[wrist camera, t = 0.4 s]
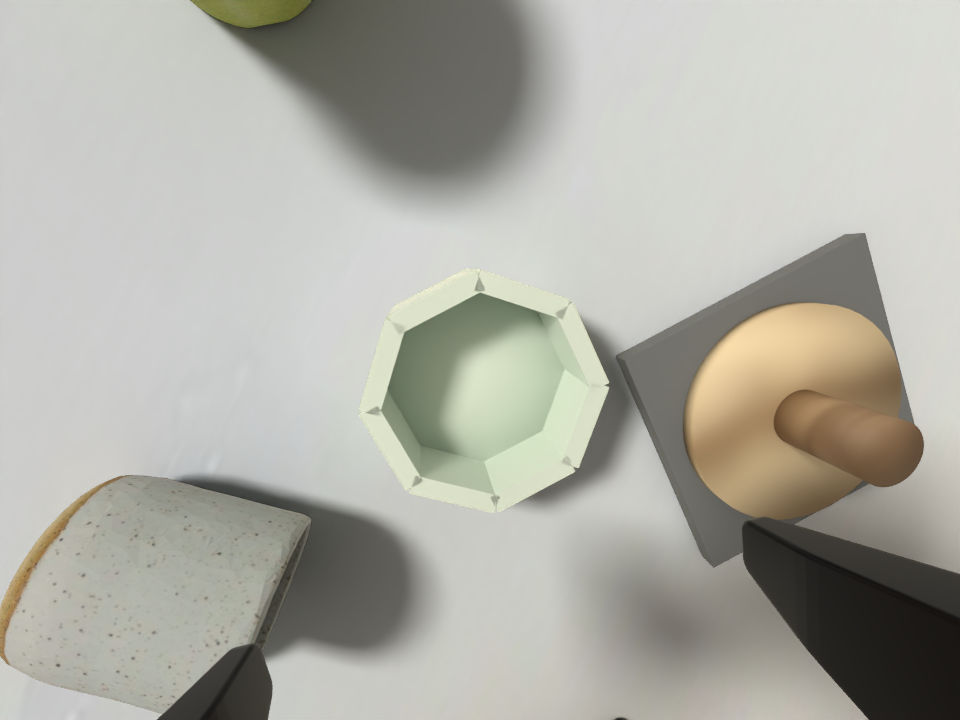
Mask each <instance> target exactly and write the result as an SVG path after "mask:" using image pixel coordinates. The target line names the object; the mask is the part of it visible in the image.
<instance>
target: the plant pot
mask: <svg viewBox="0 0 960 720" xmlns="http://www.w3.org/2000/svg"><path fill="white" fill-rule="evenodd" d="M190 1H192V2H193V3H194V4H195V5H196V6H198V7H199V8H200V9H202V10H203V11H205V12H206V13H208V14H210V15H211V16H213V17H215V18H217V19H219V20H222V21H224V22H226V23H229V24H232V25H235V26H239V27H245V28H252V27H257V26H262V25H267V24H273V23H278V22H283V21H288V20H290V19H292V18H294V17H295V16H297V15H298V14H300V13H301V12H302V11H303V10H304V9H305V8H306V7H307V6H308V5H309V4H310V3H311V1H312V0H190Z"/></svg>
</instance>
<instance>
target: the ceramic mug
mask: <svg viewBox="0 0 960 720" xmlns="http://www.w3.org/2000/svg"><path fill="white" fill-rule="evenodd" d="M310 527H311V518H309V517H308V516H306V515H304V514H301V513H297V512H293V511H288V510H284V509H280V508H276V507H272V506H269V505H265V504H261V503H257V502H253V501H249V500H246V499H242V498H238V497H235V496H231V495H227V494H223V493H218V492H214V491H210V490H206V489H203V488H199V487H196V486H192V485H189V484H186V483H182V482H178V481H175V480H171V479H167V478H158V477H150V476H137V475H126V476H120V477H116V478H114V479H111V480H109V481H106V482H104V483H102V484H100V485H98V486H96V487H95V488H93V489H91V490H90V491H88V492H87V493H85V494H84V495H82V496H81V497H80V498H78V499H77V500H76V501H75V502H74V503H72V504H71V505H70V506H69V507H68V508H66V509H65V510H64V511H63V512H62V513H61V515H60V516H59V517H58V518H57V519H56V520H55V521H54V522H53V523H52V524H51V525H50V526H49V527H48V528H47V529H46V531H45V532H44V533H43V534H42V536H41V537H40V538H39V539H38V541H37V542H36V543H35V545H34V546H33V548H32V549H31V551H30V552H29V554H28V555H27V557H26V558H25V559H24V561H23V562H22V564H21V565H20V567H19V569H18V571H17V573H16V574H15V576H14V578H13V580H12V581H11V583H10V585H9V588H8V590H7V592H6V595H5V597H4V599H3V602H2V604H1V607H0V656H1V658H2V659H3V660H4V661H5V662H6V663H7V664H8V665H10V666H12V667H13V668H15V669H17V670H19V671H21V672H23V673H25V674H26V675H28V676H30V677H32V678H34V679H36V680H39V681H42V682H44V683H47V684H50V685H53V686H57V687H61V688H66V689H70V690H74V691H78V692H82V693H86V694H91V695H95V696H100V697H104V698H108V699H113V700H116V701H120V702H123V703H127V704H130V705H134V706H137V707H140V708H144V709H147V710H151V711H154V712H157V713H161V714H163V713H164V712H165V711H166V710H168V709H169V708H170V707H171V706H172V705H173V704H174V703H175V702H176V701H177V700H178V699H179V698H180V697H181V696H182V695H183V694H184V693H185V692H186V691H187V690H188V689H189V688H190V687H191V686H193V685H194V684H195V683H196V682H197V681H198V680H199V679H200V678H201V677H202V676H203V675H204V674H205V673H206V672H207V671H208V670H209V669H210V668H211V667H212V666H213V665H214V664H215V663H216V662H217V661H219V660H220V659H221V658H222V657H223V656H224V655H225V654H226V653H227V652H228V651H229V650H230V649H232V648H234V647H238V646H242V645H246V644H250V643H256V644H258V645H259V646H260V648H261V650H262V652H263V650H264V647H265V645H266V643H267V641H268V638H269V636H270V633H271V631H272V628H273V626H274V624H275V621H276V619H277V617H278V614H279V612H280V609H281V607H282V604H283V602H284V599H285V597H286V594H287V592H288V590H289V588H290V584H291V581H292V578H293V575H294V573H295V570H296V568H297V566H298V564H299V561H300V558H301V555H302V552H303V549H304V546H305V544H306V542H307V537H308V535H309V530H310Z"/></svg>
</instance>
